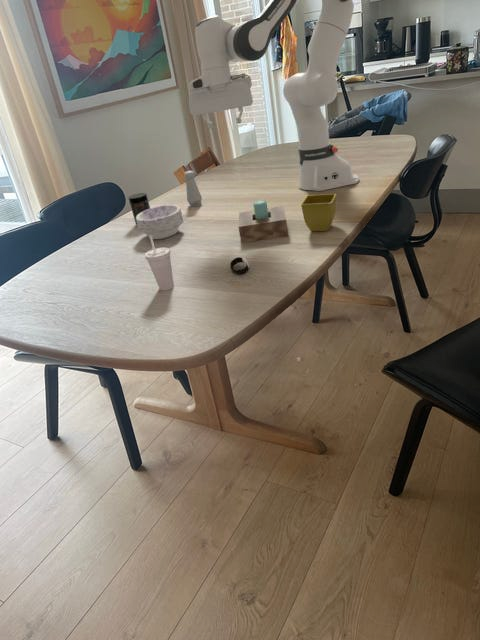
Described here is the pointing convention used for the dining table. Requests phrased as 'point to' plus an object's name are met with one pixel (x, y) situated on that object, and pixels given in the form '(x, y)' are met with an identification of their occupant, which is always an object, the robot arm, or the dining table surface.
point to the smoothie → (160, 266)
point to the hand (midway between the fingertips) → (224, 125)
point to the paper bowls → (160, 221)
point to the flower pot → (319, 211)
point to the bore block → (262, 225)
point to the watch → (236, 261)
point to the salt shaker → (192, 189)
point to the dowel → (260, 210)
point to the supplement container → (138, 203)
